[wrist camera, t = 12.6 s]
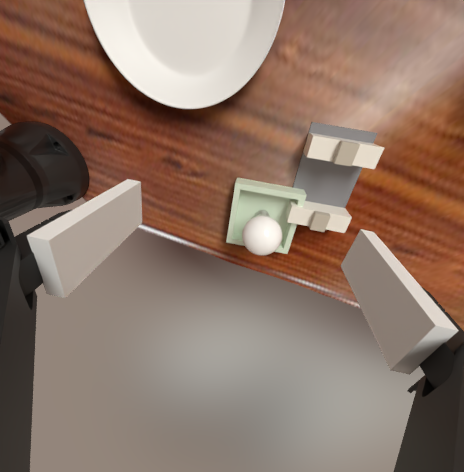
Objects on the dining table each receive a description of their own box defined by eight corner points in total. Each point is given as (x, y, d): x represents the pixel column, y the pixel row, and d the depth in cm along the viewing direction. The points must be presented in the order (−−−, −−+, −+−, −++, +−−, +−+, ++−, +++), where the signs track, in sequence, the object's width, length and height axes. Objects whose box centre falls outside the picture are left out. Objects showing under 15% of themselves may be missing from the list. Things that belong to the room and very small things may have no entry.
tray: (228, 234, 47) (226, 242, 44) (237, 177, 40) (235, 182, 38) (286, 245, 46) (287, 253, 43) (303, 189, 40) (306, 195, 37)
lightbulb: (253, 234, 45) (251, 268, 36) (240, 207, 43) (233, 236, 33) (284, 222, 43) (289, 255, 34) (271, 193, 40) (273, 220, 31)
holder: (283, 218, 44) (285, 233, 39) (310, 121, 35) (318, 124, 30) (334, 227, 44) (343, 243, 39) (375, 132, 35) (394, 137, 30)
